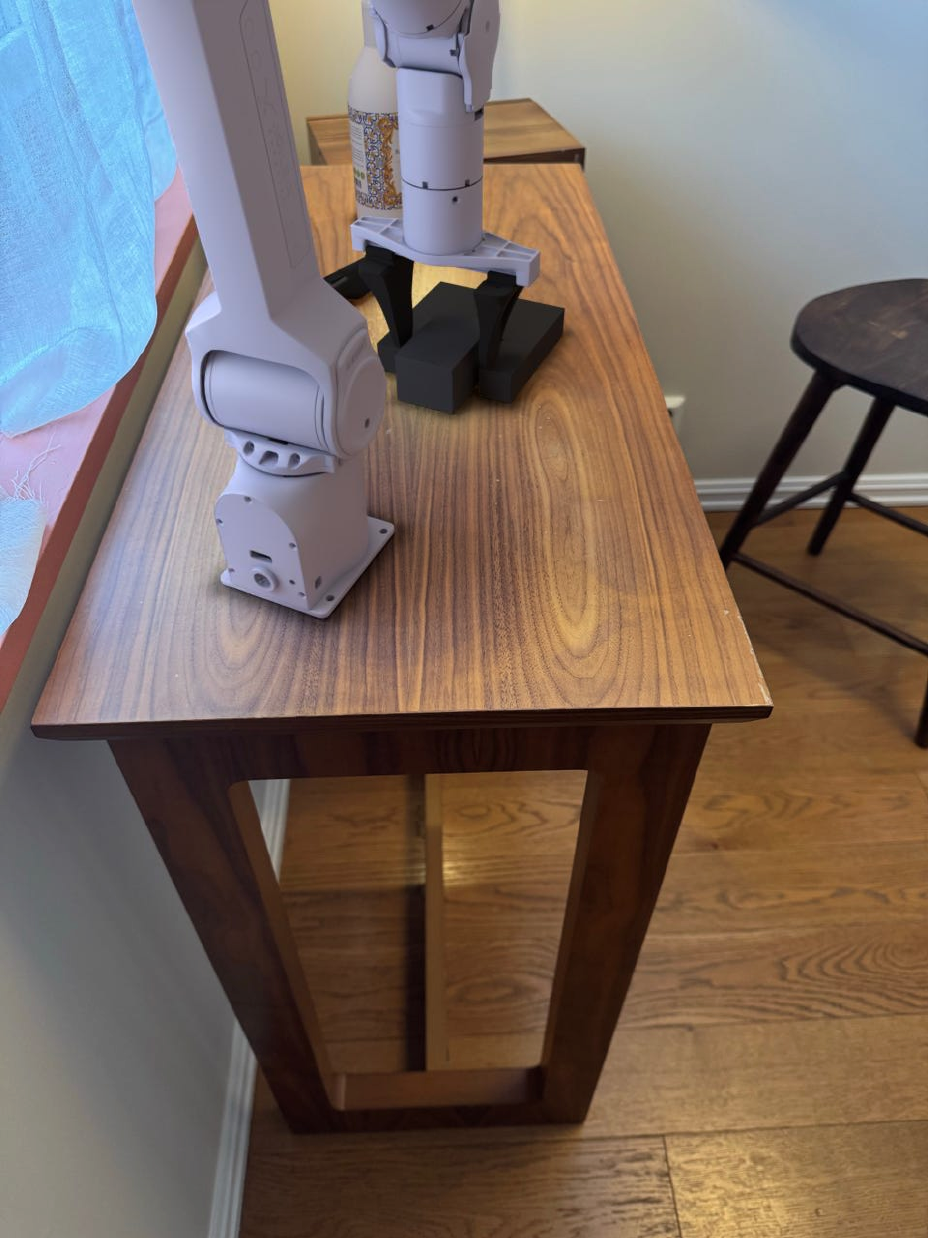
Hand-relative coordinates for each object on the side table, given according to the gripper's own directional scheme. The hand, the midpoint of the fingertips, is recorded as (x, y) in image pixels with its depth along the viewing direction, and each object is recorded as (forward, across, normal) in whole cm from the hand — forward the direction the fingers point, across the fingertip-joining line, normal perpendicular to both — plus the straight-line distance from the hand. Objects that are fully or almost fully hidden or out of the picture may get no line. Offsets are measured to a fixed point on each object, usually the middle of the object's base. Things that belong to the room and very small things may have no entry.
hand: (445, 351), depth 73 cm
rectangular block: (+3, 0, 0) cm, 3 cm away
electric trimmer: (+3, +15, -8) cm, 17 cm away
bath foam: (+3, +19, -26) cm, 32 cm away
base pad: (+3, 0, -5) cm, 6 cm away
